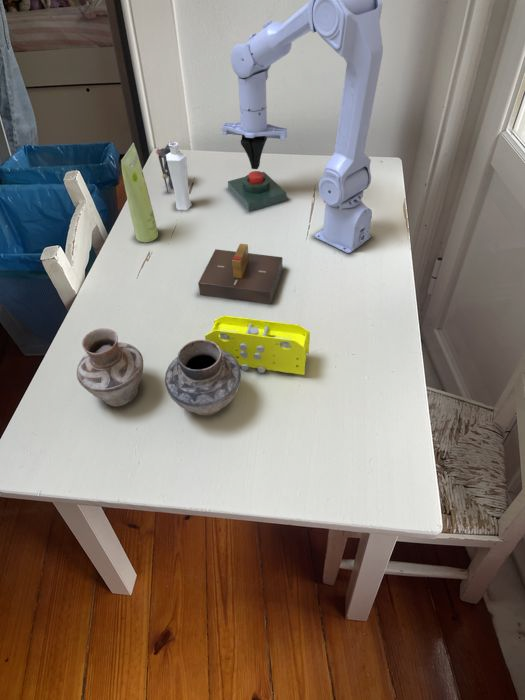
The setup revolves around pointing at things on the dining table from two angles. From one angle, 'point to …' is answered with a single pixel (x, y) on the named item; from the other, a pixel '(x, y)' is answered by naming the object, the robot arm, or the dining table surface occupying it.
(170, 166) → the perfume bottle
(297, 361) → the yellow toy chassis
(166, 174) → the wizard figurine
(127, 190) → the tube
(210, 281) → the knob panel
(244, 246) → the wooden block
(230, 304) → the dining table surface
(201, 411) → the twin painted vases
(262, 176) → the button
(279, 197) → the box
